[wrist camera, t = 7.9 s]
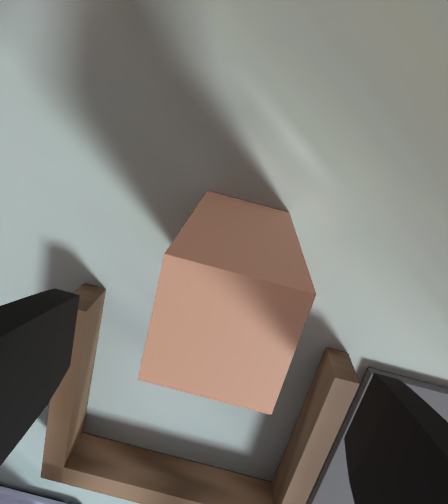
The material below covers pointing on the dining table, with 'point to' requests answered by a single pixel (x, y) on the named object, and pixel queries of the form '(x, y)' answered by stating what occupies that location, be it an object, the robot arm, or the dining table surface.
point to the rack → (176, 469)
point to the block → (229, 305)
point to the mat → (335, 468)
